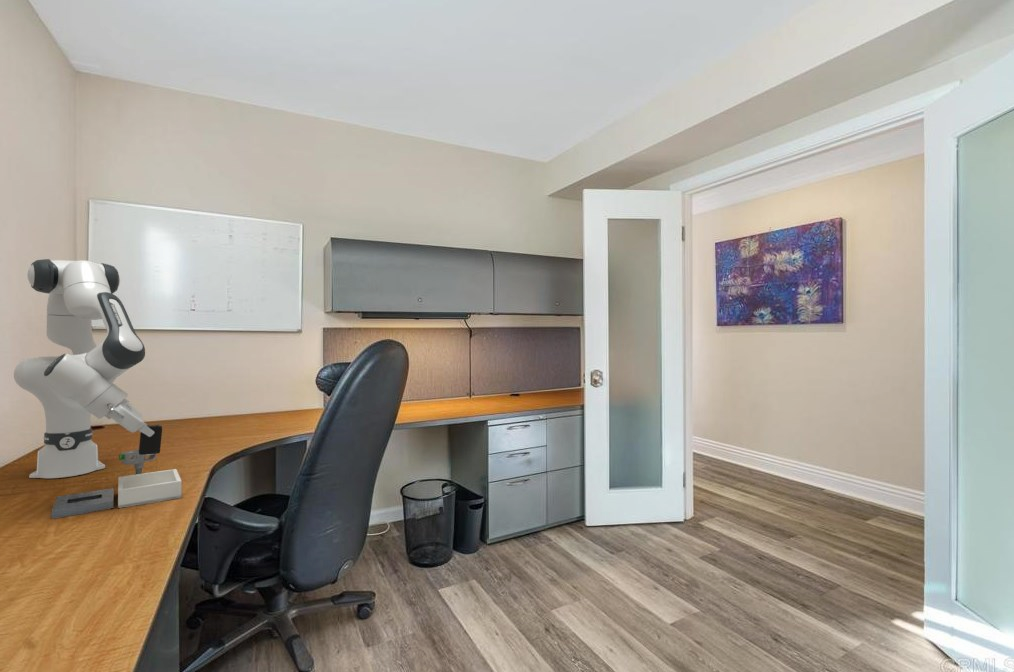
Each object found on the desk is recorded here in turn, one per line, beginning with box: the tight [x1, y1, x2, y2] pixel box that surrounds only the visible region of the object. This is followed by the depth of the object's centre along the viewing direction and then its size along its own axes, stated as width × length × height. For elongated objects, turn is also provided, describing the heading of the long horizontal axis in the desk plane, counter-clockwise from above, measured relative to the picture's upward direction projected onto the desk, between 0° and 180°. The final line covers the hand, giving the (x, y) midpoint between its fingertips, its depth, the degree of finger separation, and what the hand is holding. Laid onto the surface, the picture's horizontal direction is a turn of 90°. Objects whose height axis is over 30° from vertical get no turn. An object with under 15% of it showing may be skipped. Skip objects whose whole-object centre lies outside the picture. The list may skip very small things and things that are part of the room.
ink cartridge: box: [138, 424, 163, 455], centre depth 140 cm, size 5×2×8 cm, turn 128°
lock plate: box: [51, 487, 115, 520], centre depth 131 cm, size 14×12×2 cm
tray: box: [117, 468, 182, 509], centre depth 139 cm, size 16×14×5 cm
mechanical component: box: [118, 449, 157, 475], centre depth 152 cm, size 3×10×10 cm, turn 155°
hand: (152, 433), depth 140 cm, fingers closed on ink cartridge, 1 cm apart
